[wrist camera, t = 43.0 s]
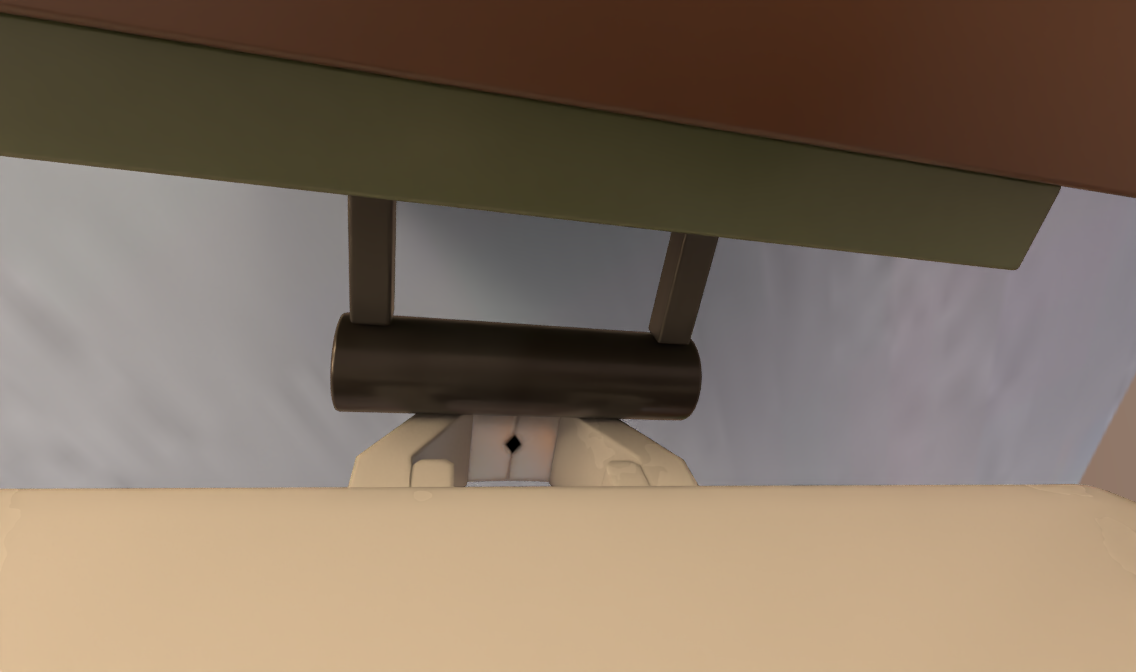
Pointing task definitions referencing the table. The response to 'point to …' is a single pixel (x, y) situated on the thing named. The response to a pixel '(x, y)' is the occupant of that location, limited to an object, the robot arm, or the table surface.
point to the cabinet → (734, 66)
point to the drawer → (489, 202)
